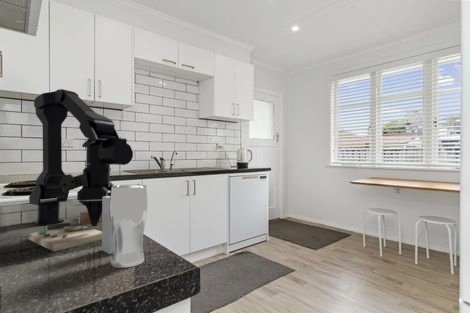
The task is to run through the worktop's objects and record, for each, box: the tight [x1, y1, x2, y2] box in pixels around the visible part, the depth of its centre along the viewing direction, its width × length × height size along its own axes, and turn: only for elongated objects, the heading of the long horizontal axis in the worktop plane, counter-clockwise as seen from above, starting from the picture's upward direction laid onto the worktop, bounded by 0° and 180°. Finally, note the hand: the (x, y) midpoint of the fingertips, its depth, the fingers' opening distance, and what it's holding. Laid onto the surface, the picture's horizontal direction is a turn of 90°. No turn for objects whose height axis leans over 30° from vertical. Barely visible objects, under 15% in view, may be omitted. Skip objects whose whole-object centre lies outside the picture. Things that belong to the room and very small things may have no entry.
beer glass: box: [109, 184, 148, 269], centre depth 51 cm, size 7×7×15 cm
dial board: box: [27, 225, 102, 252], centre depth 65 cm, size 14×12×2 cm
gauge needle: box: [47, 210, 102, 231], centre depth 69 cm, size 13×4×4 cm, turn 125°
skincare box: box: [101, 196, 114, 255], centre depth 58 cm, size 6×4×12 cm
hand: (97, 221), depth 70 cm, fingers open, 9 cm apart
